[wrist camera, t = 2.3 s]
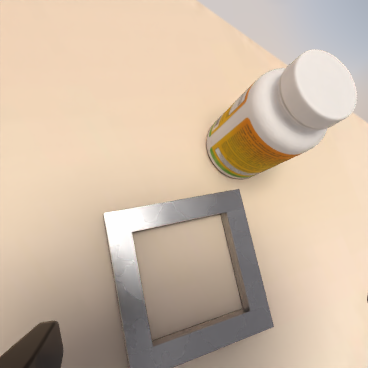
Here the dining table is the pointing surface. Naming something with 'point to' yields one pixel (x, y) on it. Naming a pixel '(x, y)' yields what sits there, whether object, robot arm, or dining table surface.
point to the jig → (133, 294)
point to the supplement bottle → (282, 115)
